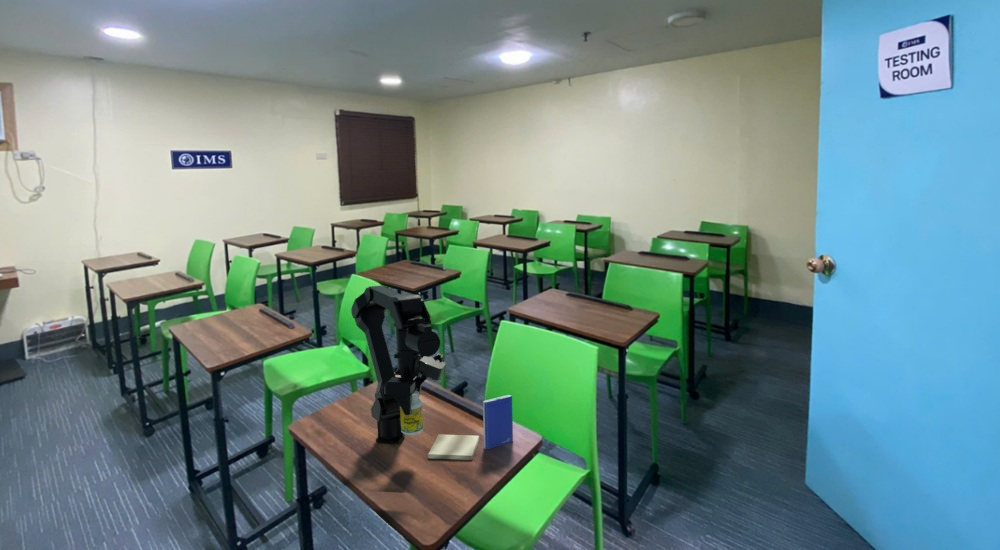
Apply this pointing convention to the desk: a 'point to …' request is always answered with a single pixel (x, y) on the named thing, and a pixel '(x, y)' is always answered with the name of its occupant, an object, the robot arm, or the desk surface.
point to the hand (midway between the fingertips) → (411, 410)
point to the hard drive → (497, 421)
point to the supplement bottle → (413, 417)
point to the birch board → (454, 447)
